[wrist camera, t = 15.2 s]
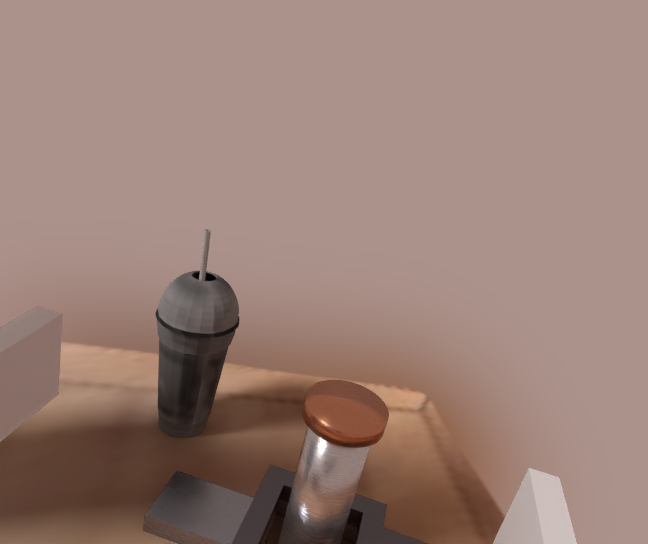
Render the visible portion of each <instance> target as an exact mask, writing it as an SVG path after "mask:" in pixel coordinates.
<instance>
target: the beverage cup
mask: <svg viewBox="0 0 648 544" xmlns="http://www.w3.org/2000/svg"><path fill="white" fill-rule="evenodd" d="M210 232H211V231H210V230H209V229H205V230H204V240H203V249H202V257H201V266H200V271H192V272H189V273H186V274H183V275H181V276H179V277H178V278H176V279H175V280H174V281H173V282H171V283H170V284H169V286H168V287H167V288H166V290H165V292H164V293H163V295H162V298H161V300H160V303H159V307H158V309H157V311H156V317H157V326H158V335H159V376H158V413H159V419H158V422H159V426H160V428H161V429H162V430H163V431H164V432H166V433H167V434H169V435H172V436H175V437H191V436H195V435H197V434H199V433H201V432H202V431H203V430H204V428H205V427H206V422H207V420H208V417H209V415H210V412H211V408H212V404H213V401H214V397H215V393H216V390H217V386H218V383H219V379H220V375H221V372H222V368H223V364H224V361H225V357H226V353H227V350H228V346H229V345H230V344H231V341H232V339H233V336H234V334H235V329H236V328H237V327H238V325H239V316H238V313H239V307H238V302H237V298H236V296H235V293H234V291H233V289H232V288H231V286H230V285H229V284H228V283H227V282H226V281H225V280H224V279H223V278H221V277H220V276H218V275H216V274H214V273H211V272H207V271H206V267H207V259H208V250H209V240H210Z"/></svg>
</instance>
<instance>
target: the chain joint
mask: <svg viewBox="0 0 648 544" xmlns="http://www.w3.org/2000/svg"><path fill="white" fill-rule="evenodd" d="M295 475H296V473H293V472H291V471H288V470H285V469H282V468H279V467H276V466H273V465H270V466H269V468H268V470H267V472H266V474H265V476H264V479H263V481H262V483H261V485H260V487H259V489H258V491H257V493H256V495H255V497H254V498H253V497H250V496H247V495H244V494H241V493H238V492H236V491H233V490H230V489H227V488H224V487H222V486H219V485H216V484H213V483H210V482H208V481H205V480H202V479H199V478H196V477H193V476H191V475H188V474H185V473H182V472H179V471H176V473H175V474H174V476H173V477H172V478H171V480H170V481H169V482H168V484H167V485H166V487H165V488H164V489H163V491H162V492H161V493H160V495H159V496H158V498H157V499H156V500H155V502H154V503H153V504H152V506H151V507H150V509H149V510H148V511H147V513H146V514H145V518H144V526H143V530H144V531H147V532H150V533H152V534H155V535H158V536H160V537H163V538H166V539H168V540H171V541H174V542H176V543H179V544H264V543H265V540H266V538H267V536H268V533H269V531H270V528H271V526H272V524H273V521H274V519H275V517H276V514H277V513H278V514H280V515H283V516H285V514H286V510H287V507H288V503H289V499H290V495H291V491H292V487H293V483H294V479H295ZM386 506H387V505H386V504H383V503H381V502H378V501H375V500H372V499H369V498H366V497H363V496H360V495H357V494H355V497H354V500H353V503H352V507H351V510H350V513H349V516H348V520H347V523H346V526H345V529H344V533H343V536H342V537H345V538H348V539H350V540H353V541H354V544H428V543H425V542H422V541H419V540H417V539H414V538H411V537H408V536H405V535H402V534H400V533H397V532H394V531H391V530H388V529H385V528H383V524H384V518H385V512H386Z"/></svg>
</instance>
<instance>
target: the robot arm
mask: <svg viewBox="0 0 648 544" xmlns="http://www.w3.org/2000/svg"><path fill="white" fill-rule="evenodd" d="M61 332H62V314H61V313H58V312H54V311H51V310H48V309H45V308H42V307H39V306H37V307H35V308H34V309H32V310H30V311H28V312H27V313H25V314H23V315H21V316H20V317H18V318H16V319H14V320H12V321H11V322H9V323H7V324H5V325H4V326H2V327H0V442H1V441H2V440H3V439H4V438H6V437H7V436H8V435H9V434H11V433H12V432H13V431H14V430H15V429H17V428H18V427H19V426H20V425H22V424H23V423H24V422H25V421H26V420H28V419H29V418H30V417H31V416H33V415H34V414H35V413H36V412H37V411H39V410H40V409H41V408H42V407H44V406H45V405H46V404H47V403H48V402H50V401H51V400H52V399H53V398H55V397H56V396H57V395H58V393H59V373H60V352H61ZM493 544H577V541H576V538H575V534H574V531H573V526H572V523H571V519H570V515H569V511H568V508H567V504H566V500H565V497H564V493H563V490H562V485H561V482H560V478H559V477H557V476H553V475H550V474H547V473H544V472H541V471H538V470H535V469H532V468H528V471H527V473H526V475H525V477H524V479H523V481H522V483H521V485H520V487H519V489H518V492H517V494H516V496H515V498H514V500H513V502H512V504H511V506H510V508H509V510H508V512H507V515H506V517H505V519H504V521H503V523H502V525H501V527H500V529H499V531H498V533H497V536H496V538H495V540H494V542H493Z"/></svg>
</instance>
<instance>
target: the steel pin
mask: <svg viewBox="0 0 648 544" xmlns="http://www.w3.org/2000/svg"><path fill="white" fill-rule="evenodd" d="M302 415H303V419H304V421H305V423H306V425H307V426H308V427H307V431H306V435H305V439H304V443H303V447H302V451H301V455H300V459H299V463H298V467H297V471H296V475H295V479H294V483H293V487H292V491H291V495H290V499H289V503H288V507H287V510H286V514H285V518H284V522H283V526H282V530H281V534H280V538H279V542H278V544H340V543H341V539H342V536H343V533H344V529H345V526H346V523H347V520H348V516H349V513H350V510H351V507H352V503H353V500H354V497H355V494H356V490H357V487H358V484H359V480H360V477H361V474H362V471H363V467H364V464H365V461H366V458H367V454H368V451H369V448H370V446H371V445H373V444H375V443H377V442H378V441H379V440H380V439H381V438H382V436H383V434H384V430H385V427H386V424H387V421H388V417H389V412H388V409H387V406H386V405H385V403H384V402H383V401H382V399H381V398H380V397H379V396H377V395H376V394H375V393H373V392H372V391H370V390H369V389H367V388H365V387H363V386H361V385H358V384H355V383H352V382H348V381H342V380H326V381H321V382H318V383H316V384H314V385H313V386H311V387H310V388H309V390H308V391H307V394H306V398H305V402H304V406H303V411H302Z"/></svg>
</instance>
